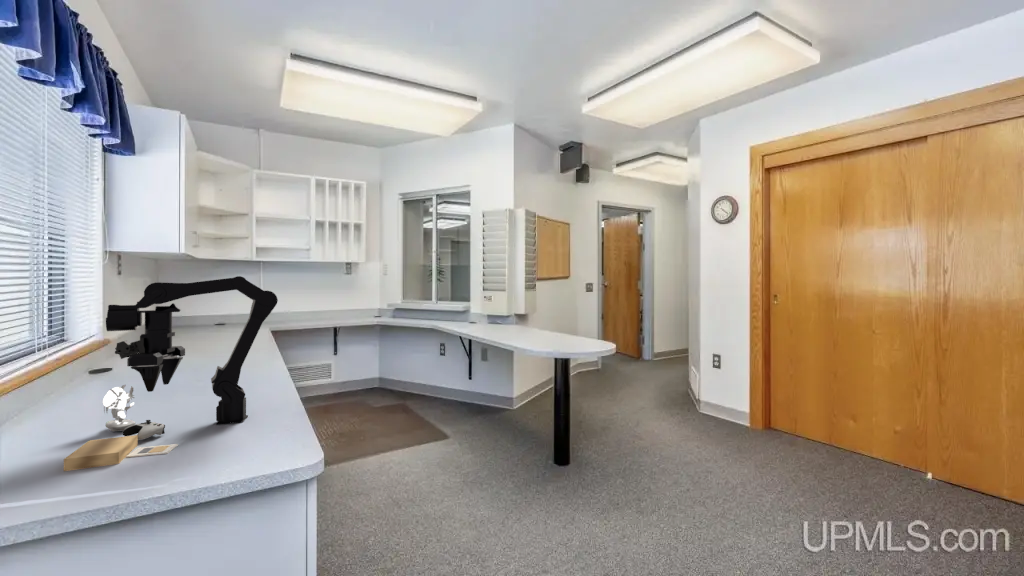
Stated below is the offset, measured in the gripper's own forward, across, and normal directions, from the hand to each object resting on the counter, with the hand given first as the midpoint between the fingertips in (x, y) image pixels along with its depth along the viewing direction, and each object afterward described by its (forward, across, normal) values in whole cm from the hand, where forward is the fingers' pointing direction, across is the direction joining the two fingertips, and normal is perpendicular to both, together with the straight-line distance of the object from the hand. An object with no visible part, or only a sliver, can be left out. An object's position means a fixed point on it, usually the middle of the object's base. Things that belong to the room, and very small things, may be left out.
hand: (158, 387), depth 119 cm
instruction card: (+12, +16, +5) cm, 21 cm away
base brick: (+12, +17, -4) cm, 21 cm away
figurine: (+12, -5, -11) cm, 17 cm away
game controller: (+12, +5, -3) cm, 14 cm away
